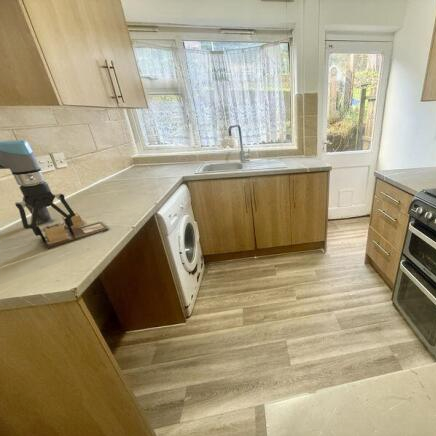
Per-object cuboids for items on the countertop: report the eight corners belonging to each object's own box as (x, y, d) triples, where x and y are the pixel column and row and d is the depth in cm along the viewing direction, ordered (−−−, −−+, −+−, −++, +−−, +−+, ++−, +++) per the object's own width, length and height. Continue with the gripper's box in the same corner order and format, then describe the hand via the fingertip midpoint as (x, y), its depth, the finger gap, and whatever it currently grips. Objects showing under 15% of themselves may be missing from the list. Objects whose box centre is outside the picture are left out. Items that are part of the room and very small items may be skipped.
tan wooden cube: (66, 226, 113) (61, 215, 111) (80, 222, 117) (76, 212, 115) (69, 230, 110) (64, 218, 108) (84, 225, 114) (79, 214, 112)
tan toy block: (47, 239, 99) (41, 226, 97) (65, 234, 103) (59, 222, 101) (50, 243, 96) (44, 230, 94) (68, 237, 100) (62, 225, 98)
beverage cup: (56, 223, 117) (36, 183, 108) (36, 228, 112) (13, 187, 104) (55, 219, 121) (35, 180, 113) (35, 224, 117) (13, 184, 108)
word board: (43, 240, 101) (41, 238, 100) (100, 224, 115) (99, 221, 115) (48, 249, 94) (47, 246, 93) (108, 231, 108) (107, 228, 108)
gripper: (-9, 192, 81) (24, 251, 90) (70, 178, 96) (91, 230, 105) (-10, 189, 86) (22, 245, 95) (66, 176, 100) (87, 226, 109)
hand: (58, 237), depth 100 cm, fingers open, 8 cm apart
